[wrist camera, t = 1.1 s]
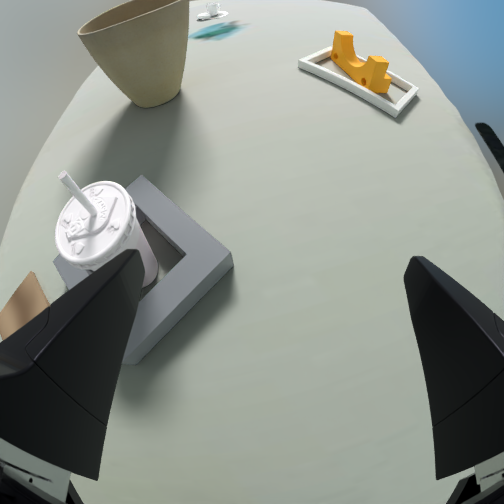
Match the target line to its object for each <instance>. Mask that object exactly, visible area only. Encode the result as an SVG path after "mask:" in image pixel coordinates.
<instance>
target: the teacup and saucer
mask: <svg viewBox="0 0 504 504" xmlns="http://www.w3.org/2000/svg"><path fill="white" fill-rule="evenodd" d="M218 4H219V3H209V4H206V9H207V13H203V14H199V15H197V18H198V19H215V18H220V17H224V16H226V15H228V12H225V11H219V9H220V4H219V7H218ZM218 12H221V13H224V15H222V16H220V17H215V18H210V17H211V16H215V15H217V13H218Z"/></svg>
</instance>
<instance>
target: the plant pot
mask: <svg viewBox="0 0 504 504" xmlns="http://www.w3.org/2000/svg"><path fill="white" fill-rule="evenodd" d="M188 29H189V0H132V1H129V2H126V3H123V4H121V5H118V6H116V7H114V8H112V9H110V10H107V11H105V12H104V13H102V14H100V15H98V16H97V17H95V18H93V19H92V20H90V21H89V22H87V23H86V24H85V25H83V26H82V27H81V28H80V29H79V30H78V32H77V34H78V36H79V37H80V39H81V41H82V42H83V44H84V45H85V47H86V48H87V50H88V51H89V53H90V54H91V56H92V57H93V58H94V60H95V61H96V63H97V64H98V65H99V66H100V68H101V69H102V70H103V71H104V73H105V74H106V75H107V76H108V77H109V78H110V80H111V81H112V82H113V83H114V84H115V85H116V86H117V87H118V88H119V89H120V90H121V91H122V92H123V93H124V94H125V95H126V96H127V97H128V98H129V99H130V100H131V101H133V102H134V103H135V104H136V105H137V106H139V107H143V108H149V107H155V106H158V105H161V104H164V103H166V102H168V101H169V100H171V99H172V98H174V97H175V96H176V95H177V94H178V92H179V90H180V87H181V82H182V77H183V71H184V66H185V59H186V51H187V41H188Z"/></svg>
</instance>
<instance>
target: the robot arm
mask: <svg viewBox="0 0 504 504" xmlns="http://www.w3.org/2000/svg"><path fill="white" fill-rule="evenodd" d="M144 277H145V268H144V264H143V261H142V257H141V254H140V251H139V250H138V249H126V250H124V251H123V252H121V253H120V254H118V255H117V256H115V257H114V258H113V259H111V260H110V261H108V262H107V263H105V264H104V265H103V266H101V267H100V268H98V269H97V270H96V271H94V272H93V273H91V274H90V275H89V276H87V277H86V278H85V279H83V280H82V281H81V282H79V283H78V284H77V285H75V286H74V287H73V288H71V289H70V290H69V291H67V292H66V293H65V294H63V295H62V296H61V297H59V298H58V299H57V300H56V301H54V302H53V303H52V304H51V305H50V306H48V307H47V308H45V309H44V310H43V311H42V312H40V313H39V314H38V315H37V316H35V317H34V318H33V319H32V320H30V321H29V322H28V323H26V324H25V325H23V326H22V327H21V328H19V329H18V330H17V331H15V332H14V333H13V334H11V335H10V336H9V337H7V338H6V339H5V340H3V341H2V342H1V343H0V504H84V503H83V502H82V500H81V498H80V497H79V495H78V493H77V492H76V490H75V488H74V486H73V484H72V482H71V481H70V476H71V472H72V473H75V474H78V475H81V476H84V477H86V478H90V479H93V480H96V481H98V477H99V470H100V464H101V457H102V451H103V445H104V440H105V435H106V429H107V424H108V419H109V414H110V409H111V405H112V401H113V396H114V392H115V388H116V384H117V380H118V376H119V372H120V368H121V365H122V361H123V357H124V354H125V350H126V347H127V343H128V340H129V336H130V333H131V330H132V327H133V323H134V320H135V317H136V313H137V309H138V304H139V299H140V295H141V290H142V285H143V281H144ZM404 284H405V289H406V294H407V299H408V304H409V310H410V315H411V320H412V324H413V328H414V332H415V336H416V340H417V344H418V348H419V352H420V357H421V361H422V366H423V371H424V376H425V381H426V386H427V392H428V398H429V405H430V412H431V419H432V427H433V428H432V429H433V439H434V451H435V470H436V480H439V479H442V478H445V477H448V476H451V475H453V474H456V473H459V472H461V471H464V470H466V469H468V468H471V467H473V466H474V468H475V473H473V474H471V475H469V476H467V477H465V478H463V479H461V480H460V481H459V482H458V484H457V486H456V488H455V490H454V491H453V493H452V495H451V496H450V498H449V500H448V501H447V503H446V504H504V321H503V320H502V319H501V318H500V317H499V316H497V315H496V314H495V313H493V311H492V310H491V309H489V308H488V307H487V306H486V305H485V304H484V303H482V302H481V301H480V300H479V299H478V298H476V297H475V296H474V295H473V294H472V293H470V292H469V291H468V290H467V289H465V288H464V287H463V286H462V285H460V284H459V283H458V282H457V281H455V280H454V279H453V278H452V277H450V276H449V275H448V274H446V273H445V272H444V271H442V270H441V269H440V268H438V267H437V266H436V265H434V264H433V263H432V262H430V261H429V260H428V259H426V258H425V257H423V256H413V257H412V258H411V259H410V262H409V264H408V267H407V269H406V271H405V274H404Z"/></svg>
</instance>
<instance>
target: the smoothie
mask: <svg viewBox="0 0 504 504" xmlns="http://www.w3.org/2000/svg"><path fill="white" fill-rule="evenodd" d="M59 179H60V180H61V182H62V183H63V184H64V185H65V186H66V187H67V189H68V190H69V191H70V192H71V193H72V194H73V197H72V198H71V199H70V200H69V201H68V202H67V204H66V205H65V207H64V208H63V210H62V212H61V214H60V216H59V218H58V221H57V225H56V229H55V243H56V247H57V250H58V252H59V253H60V255H61V256H62V257H63V258H64V259H65V260H66V261H67V262H69V263H70V264H71V265H72V266H73V267H76V268H79V269H91V270H93V271H96V270H97V269H98V268H100V267H101V266H103V265H104V264H105V263H107V262H108V261H110V260H111V259H113V258H114V257H115V256H117V255H118V254H120V253H121V252H123V251H124V250H126V249H138V250H139V251H140V254H141V257H142V261H143V264H144V268H145V277H144V281H143V285H142V288H143V287H146V286H148V285H149V284H150V283H152V282H153V280H154V279H155V277H156V275H157V272H158V262H157V260H156V258H155V256H154V254H153V252H152V250H151V248H150V246H149V244H148V242H147V240H146V237H145V235H144V233H143V231H142V229H141V227H140V225H139V223H138V220H137V218H136V209H135V204H134V202H133V200H132V198H131V196H130V195H129V194H128V193H127V191H126V190H125V189H124V188H123V187H122V186H121V185H119V184H118V183H115V182H111V181H100V182H96V183H93V184H90V185H88V186H86V187H84V188H83V189H81V190H80V188H79V187H78V186H77V185H76V184H75V182H74V181H73V180H72V179H71V177H70V176H69V175H68V174H67V172H66V171H63V172H61V173H60V174H59Z"/></svg>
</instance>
